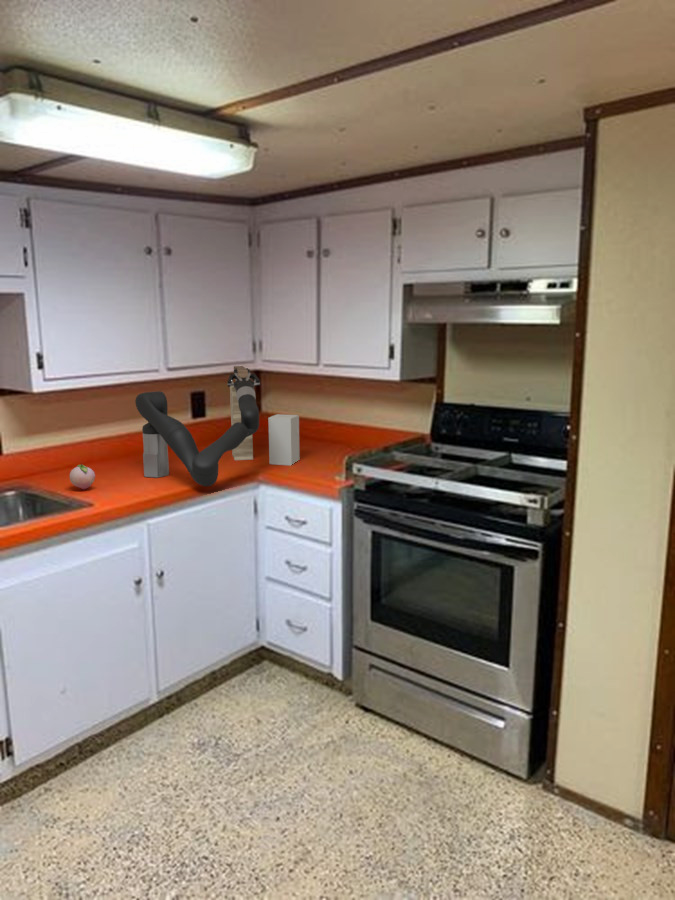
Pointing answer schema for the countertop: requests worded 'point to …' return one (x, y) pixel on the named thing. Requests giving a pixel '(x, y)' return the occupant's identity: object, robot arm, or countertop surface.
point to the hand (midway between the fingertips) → (241, 370)
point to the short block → (283, 439)
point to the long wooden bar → (241, 371)
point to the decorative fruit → (82, 476)
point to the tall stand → (246, 446)
